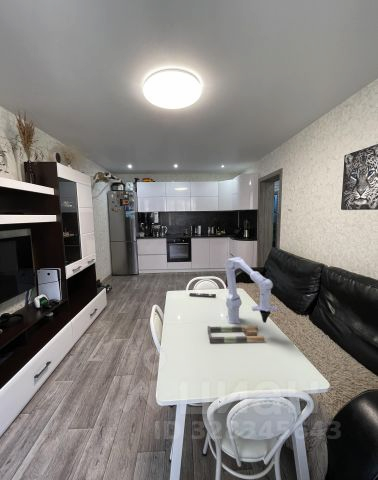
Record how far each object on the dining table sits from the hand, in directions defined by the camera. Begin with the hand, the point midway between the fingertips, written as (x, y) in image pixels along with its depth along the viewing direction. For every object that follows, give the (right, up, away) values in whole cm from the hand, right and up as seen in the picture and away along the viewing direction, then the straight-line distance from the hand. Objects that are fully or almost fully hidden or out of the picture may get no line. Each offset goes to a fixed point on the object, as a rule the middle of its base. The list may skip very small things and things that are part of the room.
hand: (264, 321), depth 127 cm
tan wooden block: (-8, -9, +1) cm, 12 cm away
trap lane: (-17, -9, +1) cm, 19 cm away
